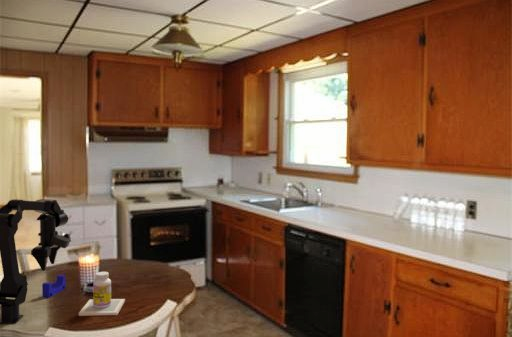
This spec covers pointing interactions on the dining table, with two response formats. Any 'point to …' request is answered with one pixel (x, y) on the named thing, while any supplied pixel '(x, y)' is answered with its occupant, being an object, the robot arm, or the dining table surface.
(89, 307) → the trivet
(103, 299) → the supplement bottle
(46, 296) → the cable clip
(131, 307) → the dining table surface
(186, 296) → the dining table surface
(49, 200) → the robot arm
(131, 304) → the dining table surface
